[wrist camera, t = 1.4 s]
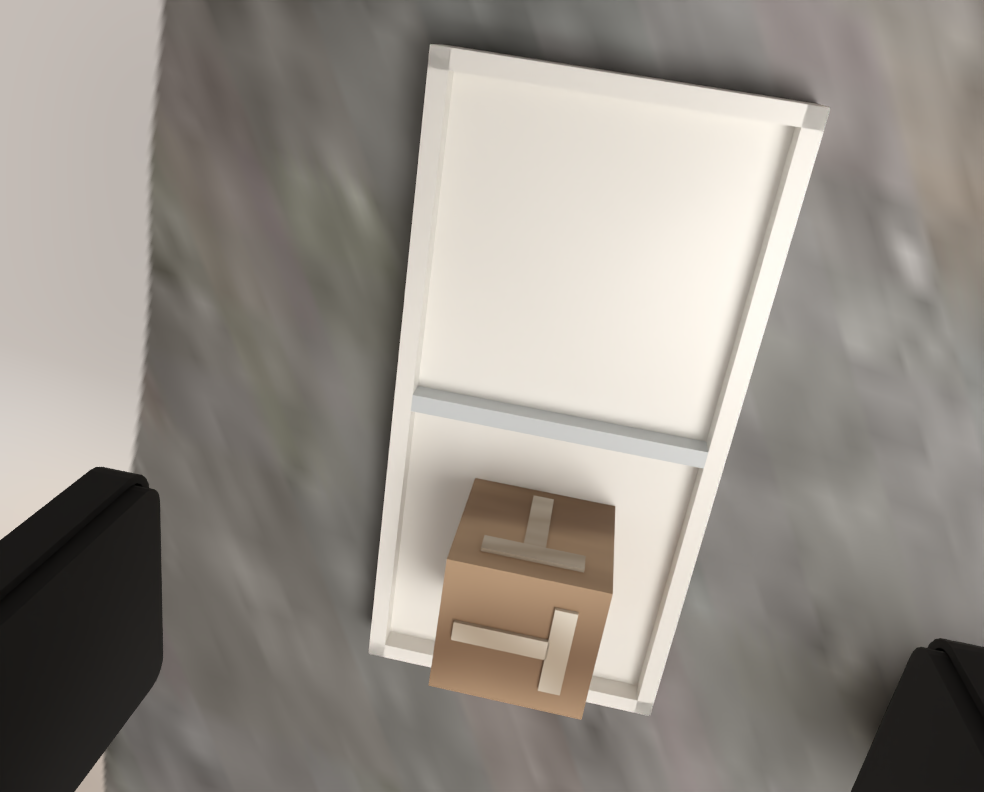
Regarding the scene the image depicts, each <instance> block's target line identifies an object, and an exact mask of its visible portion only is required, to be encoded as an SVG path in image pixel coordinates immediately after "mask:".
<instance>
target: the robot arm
mask: <svg viewBox="0 0 984 792" xmlns="http://www.w3.org/2000/svg"><path fill="white" fill-rule="evenodd" d="M162 661H163V628H162V578H161V529H160V498H159V494H158V492H157V491H156V490H154V489H150V488H149V484H148V482H147V479H146V478H145V477H144V476H142V475H139V474H134V473H130V472H125V471H120V470H115V469H110V468H105V467H95V468H93V469H92V470H90V471H89V472H87V473H86V474H85V475H83V476H82V477H81V478H80V479H78V480H77V481H76V482H74V483H73V484H72V485H71V486H69V487H68V488H67V489H65V490H64V491H63V492H62V493H60V494H59V495H58V496H56V497H55V498H54V499H53V500H51V501H50V502H49V503H48V504H46V505H45V506H44V507H42V508H41V509H40V510H38V511H37V512H36V513H35V514H33V515H32V516H31V517H29V518H28V519H27V520H26V521H24V522H23V523H22V524H21V525H19V526H18V527H17V528H15V529H14V530H13V531H11V532H10V533H9V534H8V535H6V536H5V537H4V538H3V539H1V540H0V792H74V791H75V790H76V789H77V788H78V786H79V785H80V784H81V782H82V781H83V779H84V778H85V777H86V776H87V774H88V773H89V771H90V770H91V769H92V767H93V766H94V765H95V763H96V762H97V761H98V759H99V758H100V757H101V755H102V754H103V753H104V751H105V750H106V749H107V747H108V746H109V745H110V743H111V742H112V741H113V739H114V738H115V736H116V735H117V734H118V732H119V731H120V730H121V728H122V727H123V726H124V724H125V723H126V722H127V720H128V719H129V718H130V716H131V715H132V714H133V712H134V711H135V710H136V708H137V707H138V705H139V704H140V703H141V701H142V700H143V699H144V697H145V696H146V695H147V693H148V692H149V691H150V689H151V688H152V686H153V685H154V683H155V682H156V679H157V677H158V675H159V672H160V669H161V666H162ZM851 792H984V647H981V646H976V645H971V644H966V643H961V642H956V641H951V640H947V639H942V638H940V639H935V640H934V641H933V642H931V643H930V644H929V646H928V648H924V647H919V648H917V649H915V650H914V651H913V653H912V655H911V656H910V658H909V661H908V663H907V665H906V668H905V670H904V672H903V674H902V677H901V679H900V681H899V683H898V686H897V688H896V690H895V693H894V695H893V697H892V699H891V702H890V704H889V706H888V708H887V711H886V713H885V715H884V718H883V720H882V722H881V724H880V727H879V729H878V731H877V733H876V736H875V738H874V740H873V743H872V745H871V747H870V749H869V752H868V754H867V756H866V758H865V761H864V763H863V765H862V768H861V770H860V772H859V774H858V777H857V779H856V781H855V783H854V786H853V788H852V790H851Z"/></svg>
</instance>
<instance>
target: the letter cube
mask: <svg viewBox="0 0 984 792" xmlns="http://www.w3.org/2000/svg"><path fill="white" fill-rule="evenodd" d="M614 537H615V506H612V505H607V504H602V503H597V502H592V501H587V500H582V499H577V498H573V497H568V496H563V495H558V494H553V493H548V492H543V491H538V490H533V489H528V488H523V487H518V486H513V485H508V484H503V483H498V482H493V481H488V480H483V479H478V478H475V480H474V483H473V486H472V488H471V491H470V494H469V497H468V500H467V503H466V506H465V508H464V511H463V514H462V517H461V520H460V523H459V526H458V528H457V531H456V534H455V537H454V540H453V543H452V545H451V548H450V551H449V554H448V557H447V561H446V568H445V575H444V582H443V589H442V596H441V603H440V610H439V617H438V624H437V631H436V638H435V645H434V652H433V659H432V666H431V673H430V680H429V686H433V687H438V688H442V689H447V690H451V691H456V692H460V693H465V694H469V695H474V696H478V697H483V698H487V699H492V700H496V701H500V702H505V703H509V704H514V705H518V706H523V707H527V708H532V709H536V710H541V711H545V712H550V713H554V714H559V715H563V716H567V717H572V718H576V719H582V715H583V711H584V707H585V703H586V699H587V695H588V691H589V687H590V683H591V679H592V675H593V671H594V667H595V663H596V659H597V655H598V651H599V647H600V643H601V639H602V635H603V631H604V627H605V623H606V619H607V615H608V611H609V607H610V603H611V599H612V595H613V572H614Z"/></svg>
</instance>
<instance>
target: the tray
mask: <svg viewBox="0 0 984 792" xmlns="http://www.w3.org/2000/svg"><path fill="white" fill-rule="evenodd" d="M829 112H830V108H829V107H826V106H823V105H820V104H817V103H810V102H804V101H798V100H792V99H785V98H779V97H773V96H766V95H760V94H754V93H747V92H741V91H735V90H729V89H722V88H716V87H710V86H703V85H697V84H691V83H684V82H678V81H672V80H666V79H659V78H653V77H647V76H640V75H634V74H628V73H621V72H615V71H609V70H603V69H596V68H590V67H584V66H577V65H571V64H565V63H558V62H552V61H546V60H540V59H533V58H527V57H521V56H514V55H508V54H502V53H495V52H489V51H483V50H477V49H470V48H464V47H458V46H451V45H445V44H430V49H429V59H428V69H427V79H426V89H425V99H424V109H423V119H422V129H421V139H420V149H419V159H418V169H417V178H416V188H415V198H414V208H413V218H412V228H411V238H410V248H409V258H408V268H407V278H406V288H405V298H404V308H403V317H402V327H401V337H400V347H399V357H398V367H397V377H396V387H395V397H394V407H393V417H392V427H391V437H390V447H389V456H388V466H387V476H386V486H385V496H384V506H383V516H382V526H381V536H380V546H379V556H378V566H377V576H376V586H375V595H374V605H373V615H372V625H371V635H370V645H369V654H373V655H377V656H382V657H386V658H391V659H395V660H400V661H404V662H409V663H413V664H418V665H422V666H427V667H431V666H432V659H433V652H434V645H435V638H436V631H437V624H438V617H439V610H440V603H441V596H442V589H443V582H444V575H445V568H446V561H447V557H448V554H449V551H450V548H451V545H452V543H453V540H454V537H455V534H456V531H457V528H458V526H459V523H460V520H461V517H462V514H463V511H464V508H465V506H466V503H467V500H468V497H469V494H470V491H471V488H472V486H473V483H474V480H475V478H478V479H483V480H488V481H493V482H498V483H503V484H508V485H513V486H518V487H523V488H528V489H533V490H538V491H543V492H548V493H553V494H558V495H563V496H568V497H573V498H577V499H582V500H587V501H592V502H597V503H602V504H607V505H612V506H615V537H614V572H613V595H612V599H611V603H610V607H609V611H608V615H607V619H606V623H605V627H604V631H603V635H602V639H601V643H600V647H599V651H598V655H597V659H596V663H595V667H594V671H593V675H592V679H591V683H590V687H589V691H588V695H587V699H586V702H589V703H594V704H598V705H603V706H607V707H612V708H616V709H621V710H625V711H630V712H634V713H639V714H643V715H648V716H650V714H651V711H652V707H653V704H654V701H655V697H656V694H657V690H658V687H659V684H660V680H661V677H662V674H663V670H664V667H665V664H666V660H667V657H668V653H669V650H670V647H671V643H672V640H673V637H674V633H675V630H676V627H677V623H678V620H679V616H680V613H681V610H682V606H683V603H684V600H685V596H686V593H687V589H688V586H689V583H690V579H691V576H692V573H693V569H694V566H695V563H696V559H697V556H698V552H699V549H700V546H701V542H702V539H703V536H704V532H705V529H706V526H707V522H708V519H709V515H710V512H711V509H712V505H713V502H714V499H715V495H716V492H717V489H718V485H719V482H720V478H721V475H722V472H723V468H724V465H725V462H726V458H727V455H728V452H729V448H730V445H731V441H732V438H733V435H734V431H735V428H736V425H737V421H738V418H739V415H740V411H741V408H742V404H743V401H744V398H745V394H746V391H747V388H748V384H749V381H750V378H751V374H752V371H753V367H754V364H755V361H756V357H757V354H758V351H759V347H760V344H761V341H762V337H763V334H764V330H765V327H766V324H767V320H768V317H769V314H770V310H771V307H772V304H773V300H774V297H775V293H776V290H777V287H778V283H779V280H780V277H781V273H782V270H783V266H784V263H785V260H786V256H787V253H788V250H789V246H790V243H791V240H792V236H793V233H794V229H795V226H796V223H797V219H798V216H799V213H800V209H801V206H802V203H803V199H804V196H805V192H806V189H807V186H808V182H809V179H810V176H811V172H812V169H813V166H814V162H815V159H816V155H817V152H818V149H819V145H820V142H821V139H822V135H823V132H824V129H825V125H826V122H827V118H828V115H829Z"/></svg>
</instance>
